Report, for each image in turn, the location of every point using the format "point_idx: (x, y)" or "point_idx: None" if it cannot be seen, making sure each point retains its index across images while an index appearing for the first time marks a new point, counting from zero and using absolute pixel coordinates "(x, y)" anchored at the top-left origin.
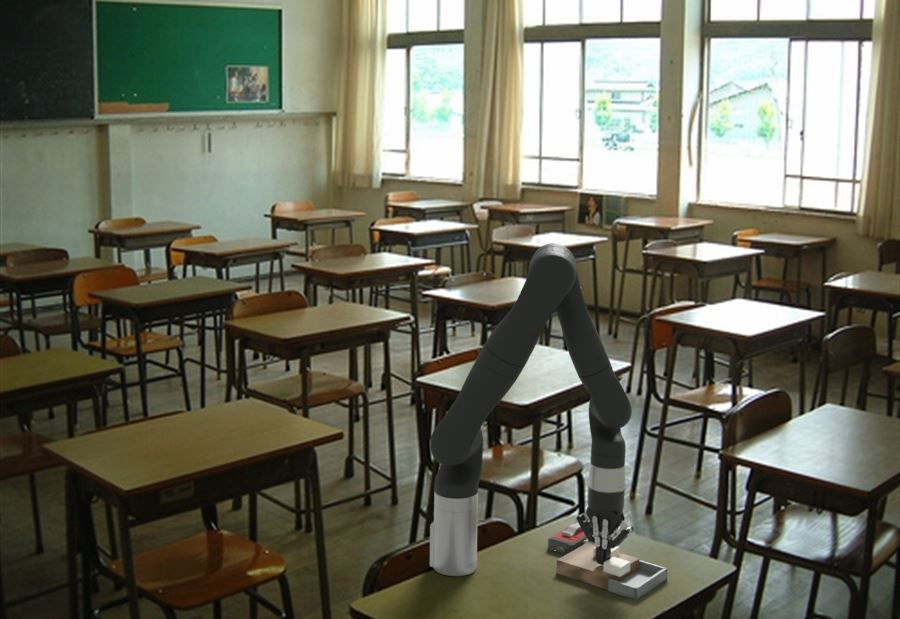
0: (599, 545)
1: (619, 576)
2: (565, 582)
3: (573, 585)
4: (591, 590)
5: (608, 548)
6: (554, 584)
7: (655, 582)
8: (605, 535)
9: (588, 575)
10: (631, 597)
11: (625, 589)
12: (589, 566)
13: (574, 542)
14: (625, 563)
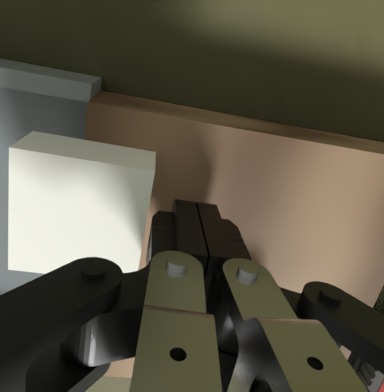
0: (225, 268)
1: (36, 131)
2: (331, 66)
3: (285, 51)
4: (182, 40)
5: (143, 269)
6: (379, 10)
7: None
8: (163, 336)
9: (234, 122)
10: None
11: None
12: (251, 175)
13: (381, 377)
14: (20, 230)
